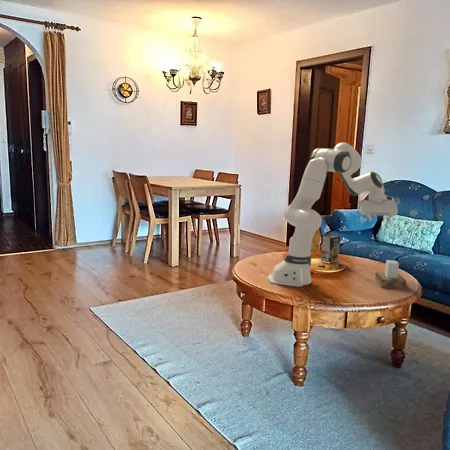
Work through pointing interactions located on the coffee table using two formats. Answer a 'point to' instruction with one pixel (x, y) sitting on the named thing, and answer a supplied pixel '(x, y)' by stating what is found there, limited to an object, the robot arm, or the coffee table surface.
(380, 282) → the walnut plinth
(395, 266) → the light grey block
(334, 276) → the coffee table surface
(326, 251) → the coffee box
